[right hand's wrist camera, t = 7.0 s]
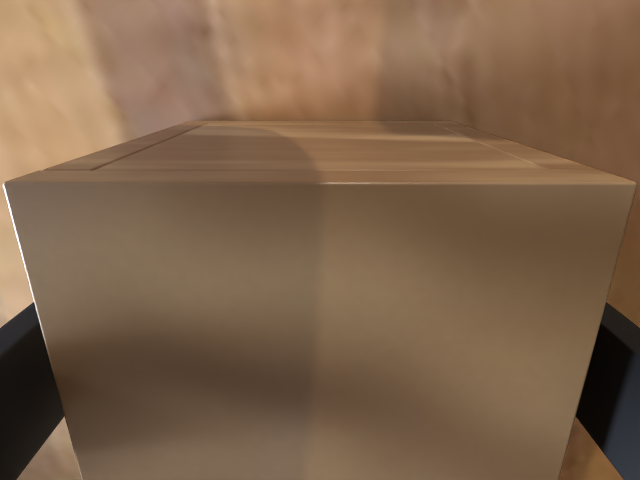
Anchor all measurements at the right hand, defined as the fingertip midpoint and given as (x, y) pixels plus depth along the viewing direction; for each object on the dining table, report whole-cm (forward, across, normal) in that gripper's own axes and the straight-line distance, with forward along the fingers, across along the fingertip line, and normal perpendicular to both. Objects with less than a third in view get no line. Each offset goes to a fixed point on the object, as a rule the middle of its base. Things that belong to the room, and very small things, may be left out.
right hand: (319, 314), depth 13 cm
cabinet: (+7, 0, -6) cm, 10 cm away
